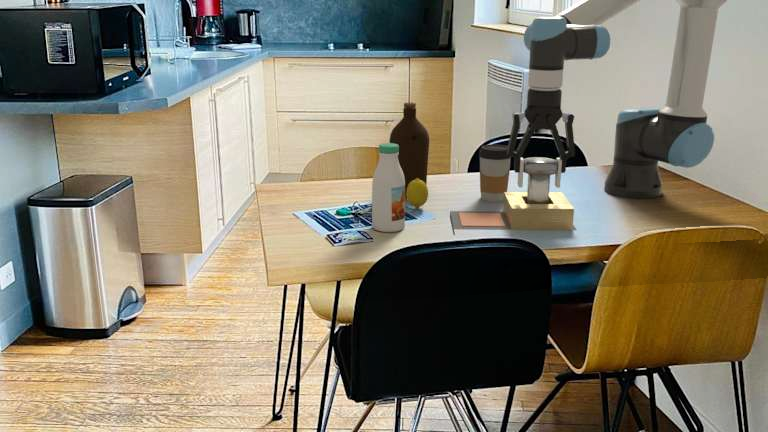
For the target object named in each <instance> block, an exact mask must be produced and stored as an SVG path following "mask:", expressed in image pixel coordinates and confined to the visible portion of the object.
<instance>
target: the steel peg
mask: <svg viewBox="0 0 768 432" xmlns="http://www.w3.org/2000/svg"><path fill="white" fill-rule="evenodd" d="M523 159H524V169H523V174H526V175H527V174H528V175H527V176H528V177H527V190H526V192H527V204H548V201H549V192H550V184H551V183H550V182H551V176H553V175H555V174H556V173H557V167H558V161H557V160H556V159H553V158H549V157H542V156H540V157H539V156H538V157H537V156H534V157H533V156H532V157H526V158H523Z"/></svg>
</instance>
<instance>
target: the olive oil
mask: <svg viewBox="0 0 768 432" xmlns="http://www.w3.org/2000/svg"><path fill="white" fill-rule="evenodd" d="M416 105H417V104H416V102H412V101H411V102H403V109H402V110H403V114H402V115H403V116H402V118H401V120H400V121H399V122H398V123H397V124H396V125H395V126H394V127H393V128H392V130H391V131H390V132H391V133H390V135H389V143H394V144H397V145H399V152H398V153H399V154H398V161H399V164H400V167H401V169H402V171H403V174H404V178H405V200H407V196H406V192H407V187H408V185H409V183H410V182H411V181H413V180H415V179H416V178H419V179H420V180H422V181H423V182H424V183H425V184H426V185H427V181H428V179H427V178H428V166H429V165H428V164H429V154H430V153H429V151H430V134H429V132H428V130H427V128H426V127H425V126H424V125H423V124H422V122H421V121H420V120H419V119H418V118H417V107H416ZM427 186H428V185H427Z"/></svg>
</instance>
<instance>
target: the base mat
mask: <svg viewBox="0 0 768 432" xmlns="http://www.w3.org/2000/svg"><path fill="white" fill-rule="evenodd" d="M449 219H450V220H449V221H450V224H451V228H452V233H453V236H455V235H456V234H455V230H492V231H493V230H494V231H496V230H500V231H501V230H504V231H505V230H506V231H507V230H510V231H511V230H513V231H515V230H516V231H517V229H510V226H509V224H508V222H507V220H506V217H505V215H504V213H503V211H490V210H489V211H481V210H479V211H478V210H477V211H475V210H474V211H473V210H471V211H468V210H467V211H466V210H465V211H464V210H459V211H458V210H450V211H449ZM571 231H577V228H576V227H575V225H574V224H573V229H572V230H571Z"/></svg>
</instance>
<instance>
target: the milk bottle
mask: <svg viewBox="0 0 768 432" xmlns="http://www.w3.org/2000/svg"><path fill="white" fill-rule="evenodd" d="M398 152H399V145H397V144H394V143H390V142H387V143H386V142H385V143H381V144H378V155H379V160H378V163H377V166H376V168H375V170H374V172H373V176H372V181H371V182H372V184H371V185H372V186H371V188H372V189H371V197H372V198H371V223H372V224H371V225H372V228H373V229H374V230H375V231H377V232H383V233H395V232H399V231H403V229H405V226H406V225H405V224H406V199H405V178H404V174H403V171H402V169H401V167H400V164H399V161H398V154H399V153H398Z"/></svg>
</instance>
